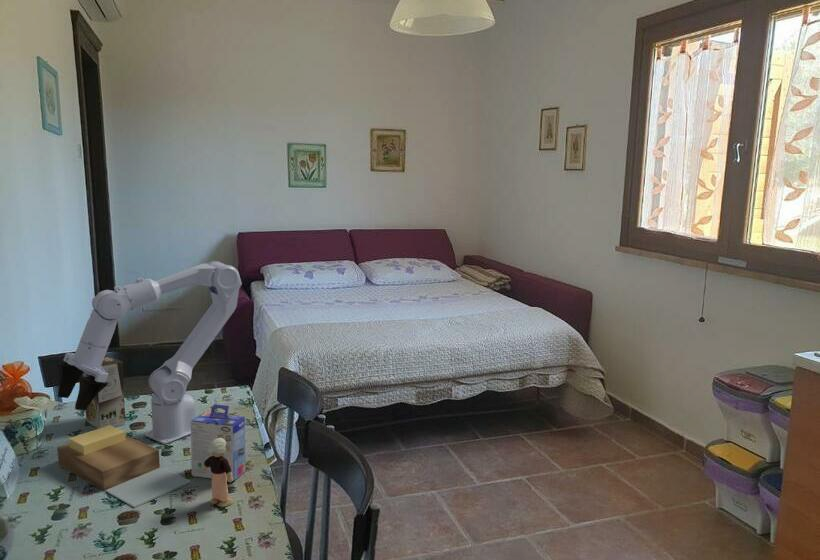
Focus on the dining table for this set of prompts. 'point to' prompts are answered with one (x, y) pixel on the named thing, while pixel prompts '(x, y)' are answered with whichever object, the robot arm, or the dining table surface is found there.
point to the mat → (147, 487)
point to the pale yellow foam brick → (97, 439)
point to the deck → (110, 462)
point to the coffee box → (108, 397)
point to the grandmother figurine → (219, 472)
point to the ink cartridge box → (209, 430)
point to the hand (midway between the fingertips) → (71, 403)
